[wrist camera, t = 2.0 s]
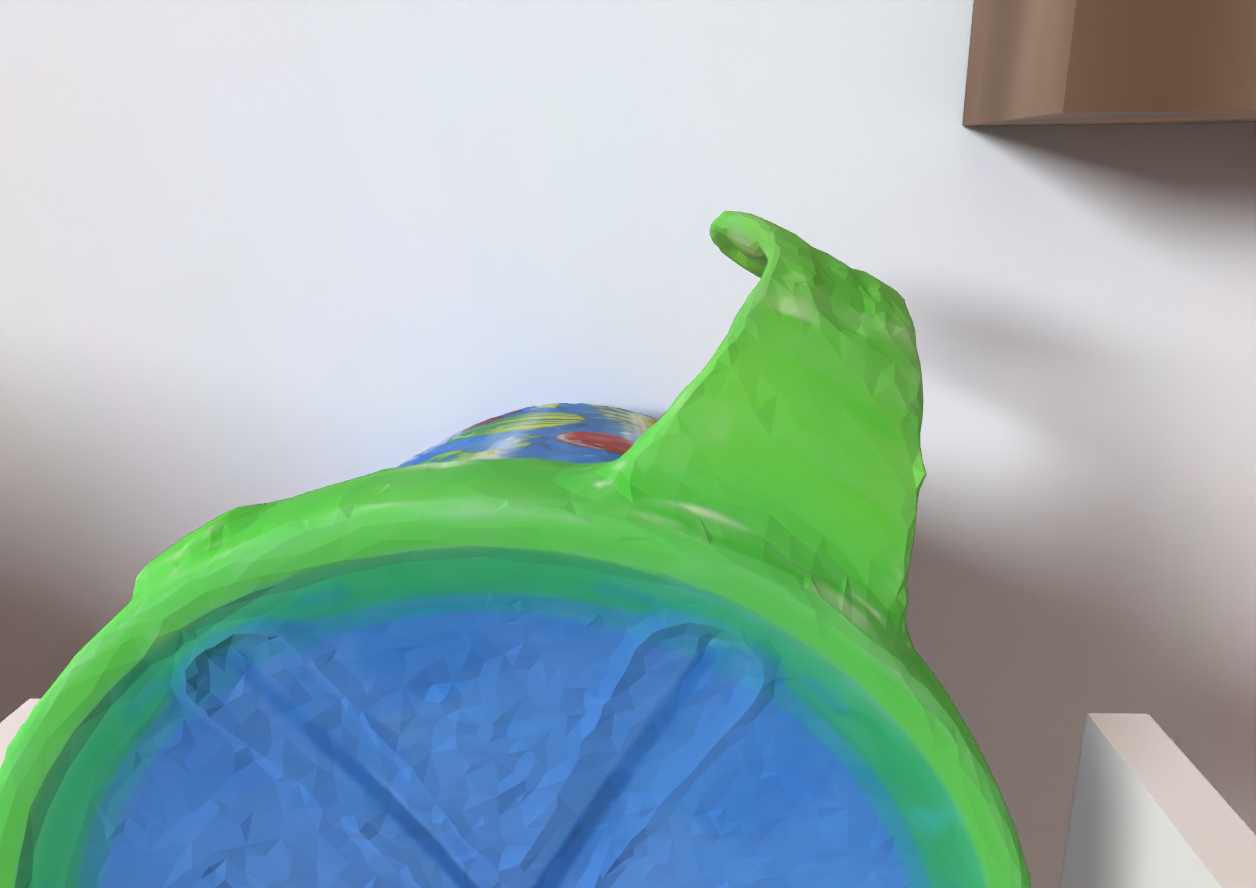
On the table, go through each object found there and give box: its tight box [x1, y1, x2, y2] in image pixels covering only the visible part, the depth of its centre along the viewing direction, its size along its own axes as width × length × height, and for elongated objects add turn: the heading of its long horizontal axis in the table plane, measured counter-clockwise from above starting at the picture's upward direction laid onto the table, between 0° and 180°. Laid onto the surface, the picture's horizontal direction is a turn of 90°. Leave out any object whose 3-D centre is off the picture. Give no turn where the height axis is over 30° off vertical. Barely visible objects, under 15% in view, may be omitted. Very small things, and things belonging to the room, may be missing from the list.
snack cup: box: [0, 211, 1031, 888], centre depth 14 cm, size 16×10×10 cm
